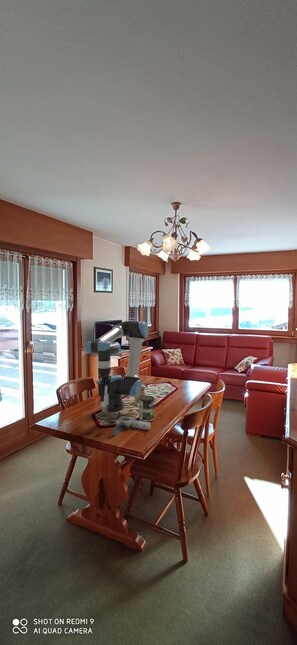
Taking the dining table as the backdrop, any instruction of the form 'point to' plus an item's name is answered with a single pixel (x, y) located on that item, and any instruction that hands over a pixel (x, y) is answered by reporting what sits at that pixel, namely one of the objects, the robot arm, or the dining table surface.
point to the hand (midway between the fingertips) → (104, 405)
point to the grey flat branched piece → (129, 424)
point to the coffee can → (146, 408)
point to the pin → (104, 409)
